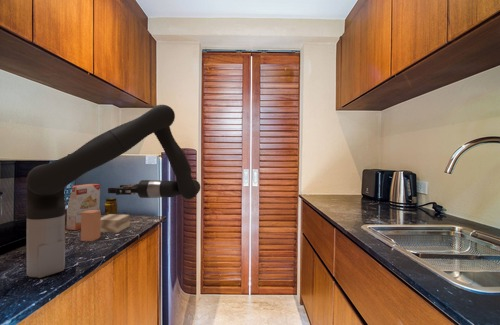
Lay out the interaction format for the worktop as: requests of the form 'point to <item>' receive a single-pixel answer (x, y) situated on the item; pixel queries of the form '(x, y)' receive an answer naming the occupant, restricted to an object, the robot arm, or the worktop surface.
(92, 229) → the orange block
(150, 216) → the worktop surface
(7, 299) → the worktop surface
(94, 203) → the cracker box
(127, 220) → the birch base block
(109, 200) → the condiment
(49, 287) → the worktop surface
